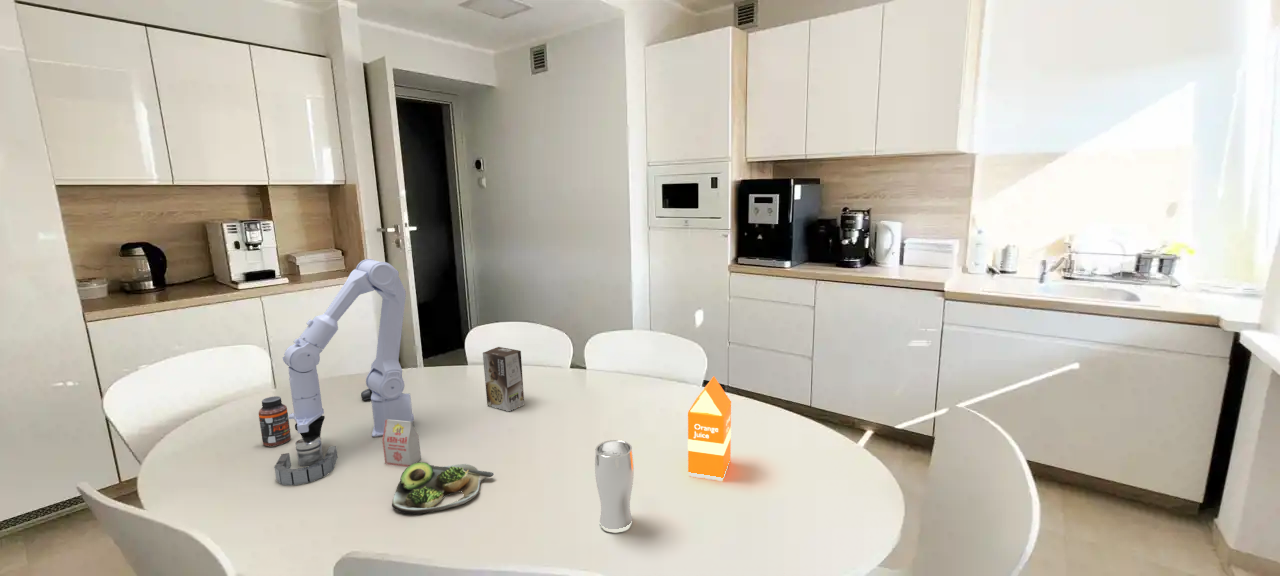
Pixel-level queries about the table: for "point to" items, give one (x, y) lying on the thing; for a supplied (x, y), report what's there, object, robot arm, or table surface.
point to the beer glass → (614, 482)
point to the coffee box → (503, 378)
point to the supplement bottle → (274, 422)
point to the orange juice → (709, 431)
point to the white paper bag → (400, 443)
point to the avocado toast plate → (435, 486)
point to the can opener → (366, 394)
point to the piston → (309, 450)
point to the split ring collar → (304, 469)
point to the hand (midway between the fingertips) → (313, 448)
